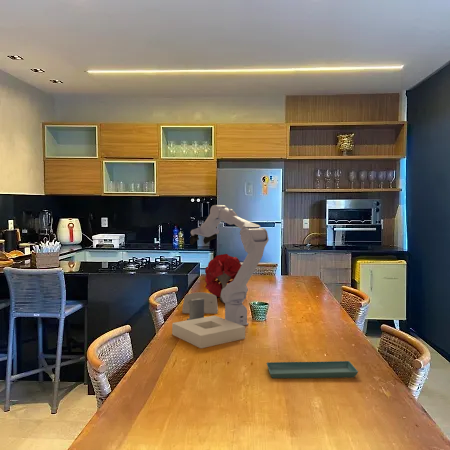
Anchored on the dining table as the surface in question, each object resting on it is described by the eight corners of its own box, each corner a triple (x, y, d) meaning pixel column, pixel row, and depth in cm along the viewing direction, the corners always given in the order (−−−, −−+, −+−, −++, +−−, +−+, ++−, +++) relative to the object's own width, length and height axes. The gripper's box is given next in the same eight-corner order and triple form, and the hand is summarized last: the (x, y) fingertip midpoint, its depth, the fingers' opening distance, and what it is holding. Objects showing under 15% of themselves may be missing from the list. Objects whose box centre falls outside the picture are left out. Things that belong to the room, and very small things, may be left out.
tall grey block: (206, 323, 191) (206, 299, 191) (194, 325, 188) (194, 301, 187) (198, 320, 196) (198, 297, 196) (187, 322, 193) (187, 298, 192)
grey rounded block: (181, 313, 208) (182, 291, 211) (182, 314, 212) (183, 292, 215) (218, 313, 208) (218, 291, 211) (218, 314, 212) (218, 293, 215)
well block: (245, 338, 170) (245, 326, 170) (200, 348, 159) (200, 335, 158) (214, 326, 187) (214, 315, 186) (172, 334, 175) (172, 323, 174)
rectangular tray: (269, 380, 132) (270, 372, 132) (266, 368, 141) (266, 361, 141) (358, 380, 133) (358, 371, 133) (349, 368, 142) (349, 360, 142)
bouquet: (247, 313, 235) (243, 276, 260) (247, 278, 222) (242, 243, 247) (206, 316, 234) (205, 279, 259) (203, 281, 221) (202, 245, 246)
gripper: (219, 217, 209) (207, 235, 218) (193, 218, 200) (181, 236, 209) (226, 229, 206) (212, 247, 214) (199, 230, 197) (186, 249, 206)
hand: (197, 242), depth 211 cm, fingers open, 7 cm apart
